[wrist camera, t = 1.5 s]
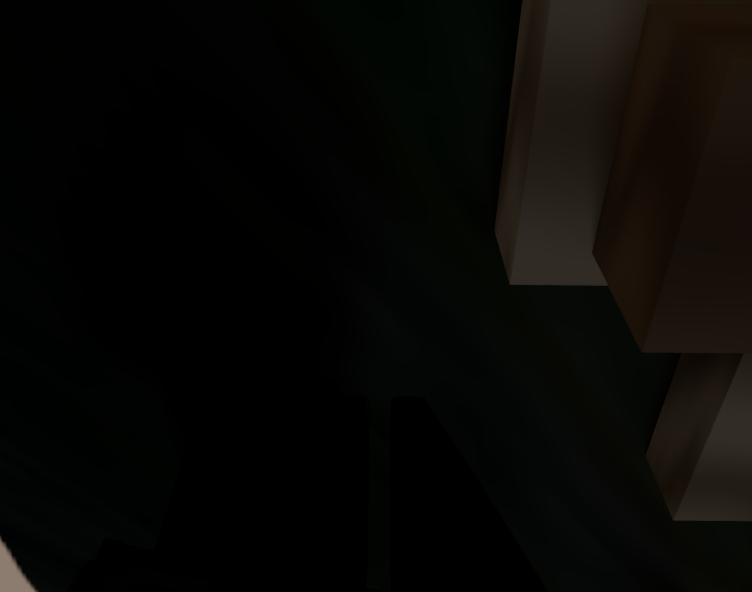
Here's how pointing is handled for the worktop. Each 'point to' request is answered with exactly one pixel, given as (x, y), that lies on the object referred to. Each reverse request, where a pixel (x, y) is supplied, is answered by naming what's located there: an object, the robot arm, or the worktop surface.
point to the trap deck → (580, 222)
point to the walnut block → (684, 184)
